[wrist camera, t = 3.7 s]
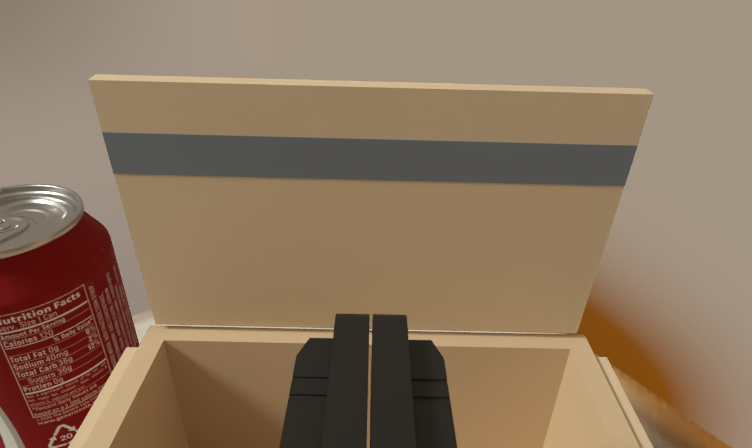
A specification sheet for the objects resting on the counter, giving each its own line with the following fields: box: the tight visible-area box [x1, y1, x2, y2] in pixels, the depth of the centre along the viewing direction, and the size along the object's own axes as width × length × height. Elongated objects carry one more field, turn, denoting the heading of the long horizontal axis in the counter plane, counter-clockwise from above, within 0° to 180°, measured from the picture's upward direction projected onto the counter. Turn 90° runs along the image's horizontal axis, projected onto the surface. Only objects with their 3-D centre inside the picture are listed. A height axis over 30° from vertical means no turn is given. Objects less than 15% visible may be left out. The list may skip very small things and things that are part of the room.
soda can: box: [0, 184, 139, 448], centre depth 23 cm, size 7×7×12 cm
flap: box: [88, 74, 653, 333], centre depth 18 cm, size 16×1×10 cm, turn 90°
